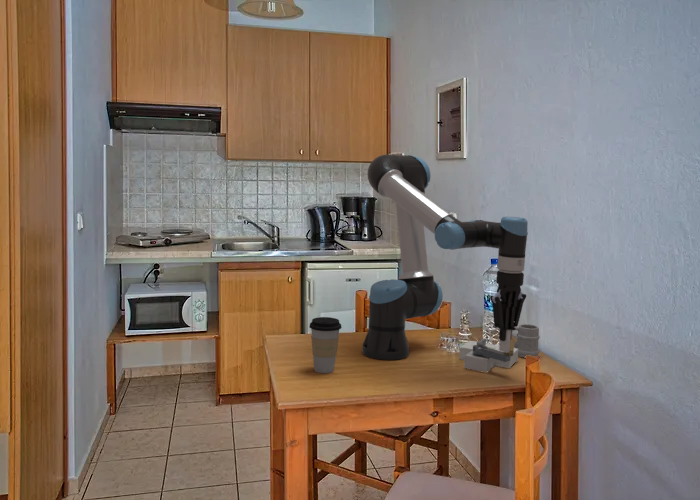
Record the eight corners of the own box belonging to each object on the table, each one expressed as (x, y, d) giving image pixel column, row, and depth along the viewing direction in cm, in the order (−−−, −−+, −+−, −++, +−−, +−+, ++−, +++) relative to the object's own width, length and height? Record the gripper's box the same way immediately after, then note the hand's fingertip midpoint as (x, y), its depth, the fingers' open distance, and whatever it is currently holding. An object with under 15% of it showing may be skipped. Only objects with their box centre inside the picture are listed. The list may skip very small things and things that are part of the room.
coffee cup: (316, 377, 180) (317, 325, 178) (302, 367, 188) (304, 317, 186) (345, 373, 184) (347, 322, 182) (331, 363, 193) (333, 315, 191)
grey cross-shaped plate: (459, 359, 202) (460, 340, 201) (469, 352, 210) (470, 334, 209) (509, 368, 194) (510, 349, 193) (517, 361, 202) (518, 342, 201)
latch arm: (469, 353, 193) (470, 332, 193) (478, 351, 196) (479, 329, 196) (507, 364, 184) (509, 342, 183) (516, 361, 186) (517, 339, 186)
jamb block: (464, 368, 193) (465, 344, 192) (471, 362, 199) (473, 339, 198) (486, 372, 189) (488, 348, 188) (493, 366, 195) (495, 342, 194)
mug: (541, 359, 204) (544, 323, 203) (504, 357, 205) (506, 321, 203) (535, 352, 212) (538, 317, 210) (500, 351, 213) (502, 316, 211)
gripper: (505, 274, 175) (498, 357, 178) (535, 272, 182) (529, 351, 185) (484, 270, 181) (479, 350, 184) (515, 268, 188) (509, 345, 191)
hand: (504, 351), depth 184 cm, fingers closed
